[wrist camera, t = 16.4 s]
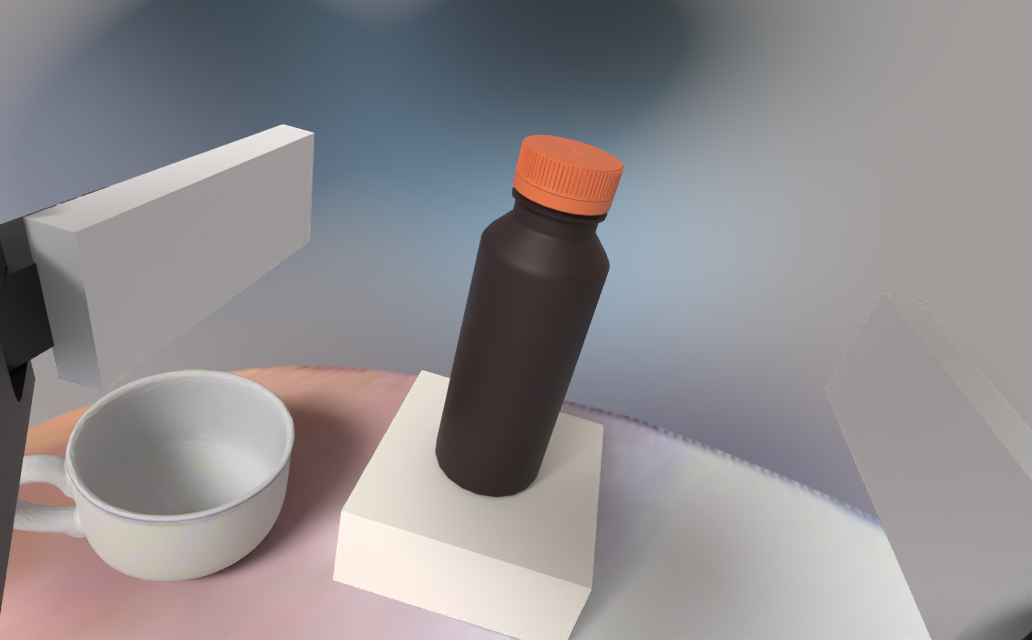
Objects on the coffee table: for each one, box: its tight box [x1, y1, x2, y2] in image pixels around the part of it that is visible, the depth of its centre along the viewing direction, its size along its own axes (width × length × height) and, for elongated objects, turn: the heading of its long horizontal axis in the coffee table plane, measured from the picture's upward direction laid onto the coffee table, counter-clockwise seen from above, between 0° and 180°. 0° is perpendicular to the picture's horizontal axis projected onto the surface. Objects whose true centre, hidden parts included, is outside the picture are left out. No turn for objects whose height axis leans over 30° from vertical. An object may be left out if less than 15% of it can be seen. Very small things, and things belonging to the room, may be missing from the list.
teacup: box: [13, 370, 295, 582], centre depth 33 cm, size 14×11×8 cm
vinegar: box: [435, 135, 624, 497], centre depth 33 cm, size 7×7×20 cm
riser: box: [333, 370, 604, 640], centre depth 39 cm, size 14×14×6 cm
